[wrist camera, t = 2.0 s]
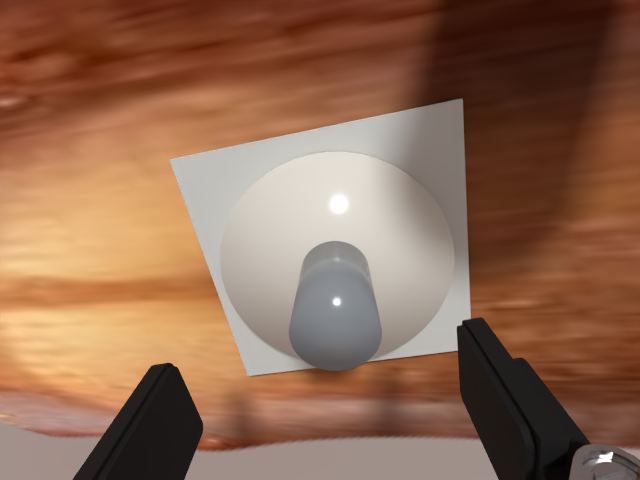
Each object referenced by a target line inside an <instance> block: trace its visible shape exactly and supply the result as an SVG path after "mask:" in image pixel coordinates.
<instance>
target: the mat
mask: <svg viewBox="0 0 640 480" xmlns="http://www.w3.org/2000/svg"><path fill="white" fill-rule="evenodd" d="M328 150H345V151H353V152H360V153H364V154H368V155H371V156H375V157H378V158H380V159H383V160H385V161H387V162H390V163H392V164H394V165H395V166H397V167H399V168H400V169H402V170H404V171H405V172H406V173H408V174H409V175H410V176H411V177H413V178H414V179H415V180H416V181H417V182H419V183H420V184H421V185H422V186H423V187H424V188H425V190H426V191H427V192H428V193H429V194H430V195H431V196H432V197H433V198H434V200H435V201H436V203H437V204H438V206H439V207H440V209H441V210H442V212H443V214H444V217H445V219H446V221H447V223H448V225H449V229H450V232H451V236H452V239H453V246H454V271H453V277H452V282H451V285H450V288H449V291H448V294H447V296H446V298H445V300H444V302H443V305H442V306H441V308H440V309H439V311H438V313H437V314H436V316H435V317H434V318H433V319H432V321H431V322H430V323H429V324H428V325H427V326H426V328H424V329H423V330H422V331H421V332H420V333H419V334H418V335H417V336H416V337H414V338H413V339H411V340H410V341H408V342H407V343H406V344H404V345H402V346H401V347H399V348H397V349H395V350H393V351H391V352H389V353H386V354H384V355H381V356H378V357H375V358H371V359H369V360H368V361H377V360H385V359H393V358H401V357H410V356H418V355H426V354H434V353H443V352H451V351H458V344H457V326H459V325H462V321H463V320H467V319H471V314H470V286H469V258H468V231H467V203H466V175H465V147H464V119H463V99H456V100H451V101H446V102H442V103H437V104H432V105H427V106H422V107H418V108H413V109H408V110H403V111H398V112H394V113H389V114H384V115H379V116H375V117H370V118H365V119H360V120H355V121H351V122H346V123H341V124H336V125H331V126H327V127H322V128H317V129H312V130H307V131H303V132H298V133H293V134H288V135H284V136H279V137H274V138H269V139H264V140H260V141H255V142H250V143H245V144H240V145H236V146H231V147H226V148H221V149H216V150H212V151H207V152H202V153H197V154H193V155H188V156H183V157H178V158H174V159H171V160H169V161H170V163H171V166H172V169H173V172H174V174H175V177H176V180H177V183H178V185H179V188H180V191H181V194H182V196H183V199H184V202H185V205H186V207H187V210H188V213H189V216H190V218H191V221H192V224H193V227H194V229H195V232H196V235H197V237H198V240H199V243H200V246H201V248H202V251H203V254H204V257H205V259H206V262H207V265H208V268H209V270H210V273H211V276H212V279H213V281H214V284H215V287H216V290H217V292H218V295H219V298H220V301H221V303H222V306H223V309H224V312H225V314H226V317H227V320H228V323H229V325H230V328H231V331H232V334H233V336H234V339H235V342H236V345H237V347H238V350H239V353H240V356H241V358H242V361H243V364H244V366H245V369H246V372H247V375H248V376H253V375H261V374H270V373H278V372H286V371H294V370H303V369H311V368H317V367H314V366H312V365H310V364H308V363H307V362H305V361H304V360H303V359H301V358H300V357H297V356H294V355H291V354H288V353H286V352H284V351H282V350H280V349H278V348H276V347H274V346H272V345H271V344H269V343H268V342H266V341H264V340H263V339H262V338H261V337H259V336H258V335H257V334H256V333H254V332H253V331H252V330H251V329H250V328H249V327H248V326H247V325H246V324H245V322H244V321H243V320H242V319H241V317H240V316H239V315H238V314H237V312H236V310H235V309H234V307H233V305H232V304H231V302H230V300H229V298H228V295H227V293H226V291H225V288H224V284H223V280H222V277H221V269H220V246H221V240H222V235H223V232H224V229H225V225H226V222H227V220H228V218H229V216H230V214H231V212H232V210H233V208H234V207H235V205H236V204H237V203H238V201H239V200H240V198H241V197H242V196H243V195H244V194H245V192H246V191H247V190H248V189H249V188H250V187H251V186H252V185H253V184H254V183H255V182H256V181H257V180H258V179H260V178H261V177H262V176H263V175H265V174H266V173H267V172H268V171H270V170H271V169H273V168H275V167H276V166H278V165H280V164H281V163H284V162H286V161H288V160H291V159H293V158H295V157H298V156H302V155H305V154H309V153H313V152H321V151H328ZM368 361H367V362H368Z"/></svg>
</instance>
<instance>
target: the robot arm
mask: <svg viewBox="0 0 640 480" xmlns="http://www.w3.org/2000/svg"><path fill="white" fill-rule="evenodd" d="M457 344H458V361H459V378H460V392H461V396H462V399H463V402H464V404H465V406H466V409H467V411H468V413H469V415H470V417H471V420H472V422H473V424H474V426H475V428H476V431H477V433H478V435H479V437H480V439H481V442H482V444H483V446H484V448H485V450H486V453H487V455H488V457H489V459H490V461H491V463H492V465H493V468H494V470H495V472H496V474H497V477H498V479H499V480H640V460H639V459H638V458H636V457H635V456H633V455H631V454H629V453H627V452H625V451H623V450H621V449H619V448H616V447H612V446H609V445H604V444H591V443H590V442H589V441H588V439H587V438H586V437H585V435H584V434H583V433H582V432H581V430H580V429H579V428H578V426H577V425H576V424H575V423H574V421H573V420H572V419H571V417H570V416H569V415H568V414H567V412H566V411H565V410H564V408H563V407H562V406H561V405H560V403H559V402H558V401H557V399H556V398H555V397H554V396H553V394H552V393H551V392H550V390H549V389H548V388H547V387H546V385H545V384H544V383H543V381H542V380H541V379H540V378H539V376H538V375H537V374H536V372H535V371H534V370H533V369H532V367H531V366H530V365H529V364H528V362H527V361H526V360H525V359H523V358H516V359H512V357H511V356H510V354H509V353H508V352H507V350H506V349H505V348H504V346H503V345H502V344H501V342H500V341H499V339H498V338H497V337H496V335H495V334H494V333H493V331H492V330H491V328H490V327H489V326H488V324H487V323H486V322H485V320H484V319H483V318H474V319H467V320H463V321H462V325H459V326H457ZM202 432H203V422H202V420H201V418H200V415H199V413H198V411H197V409H196V407H195V404H194V402H193V400H192V398H191V396H190V393H189V391H188V389H187V387H186V385H185V382H184V380H183V378H182V376H181V374H180V371H179V369H178V368H177V367H174V366H173V364H171V363H164V364H158V365H153V366H151V367H150V368H149V370H148V371H147V373H146V374H145V376H144V377H143V379H142V380H141V381H140V383H139V384H138V386H137V387H136V389H135V390H134V392H133V393H132V394H131V396H130V397H129V399H128V400H127V402H126V403H125V405H124V406H123V407H122V409H121V410H120V412H119V413H118V415H117V416H116V418H115V419H114V420H113V422H112V423H111V425H110V426H109V428H108V429H107V431H106V432H105V433H104V435H103V436H102V438H101V439H100V441H99V442H98V444H97V445H96V446H95V448H94V450H93V451H92V452H91V454H90V455H89V457H88V458H87V459H86V461H85V462H84V464H83V465H82V467H81V468H80V470H79V471H78V472H77V474H76V475H75V477H74V478H73V480H184V479H185V476H186V473H187V471H188V469H189V466H190V463H191V461H192V458H193V456H194V453H195V451H196V448H197V446H198V443H199V441H200V438H201V435H202Z"/></svg>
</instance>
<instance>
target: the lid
mask: <svg viewBox="0 0 640 480" xmlns="http://www.w3.org/2000/svg"><path fill="white" fill-rule="evenodd" d="M220 269H221V277H222V280H223V284H224V288H225V291H226V293H227V295H228V298H229V300H230V302H231V304H232V305H233V307H234V309H235V310H236V312H237V314H238V315H239V316H240V317H241V319H242V320H243V321H244V322H245V324H246V325H247V326H248V327H249V328H250V329H251V330H252V331H253V332H254V333H256V334H257V335H258V336H259V337H261V338H262V339H263V340H264V341H266V342H268V343H269V344H271V345H272V346H274V347H276V348H278V349H280V350H282V351H284V352H286V353H288V354H291V355H294V356H297V357H300V358H301V359H303V360H304V361H305V362H307V363H308V364H310V365H312V366H314V367H317V368H319V369H323V370H329V371H344V370H349V369H353V368H356V367H358V366H360V365H362V364H364V363H365V362H367V361H368V360H369V359H371V358H375V357H378V356H381V355H384V354H386V353H389V352H391V351H393V350H395V349H397V348H399V347H401V346H402V345H404V344H406V343H407V342H408V341H410V340H411V339H413V338H414V337H416V336H417V335H418V334H419V333H420V332H421V331H422V330H423V329H424V328H426V326H427V325H428V324H429V323H430V322H431V321H432V319H433V318H434V317H435V316H436V314H437V313H438V311H439V309H440V308H441V306H442V305H443V302H444V300H445V298H446V296H447V294H448V291H449V288H450V285H451V282H452V277H453V271H454V246H453V239H452V236H451V232H450V229H449V225H448V223H447V221H446V219H445V217H444V214H443V212H442V210H441V209H440V207H439V206H438V204H437V203H436V201H435V200H434V198H433V197H432V196H431V195H430V194H429V193H428V192H427V191H426V190H425V188H424V187H423V186H422V185H421V184H420V183H419V182H417V181H416V180H415V179H414V178H413V177H411V176H410V175H409V174H408V173H406V172H405V171H404V170H402V169H400V168H399V167H397V166H395V165H394V164H392V163H390V162H387V161H385V160H383V159H380V158H378V157H375V156H371V155H368V154H364V153H360V152H353V151H345V150H328V151H321V152H313V153H309V154H305V155H302V156H298V157H295V158H293V159H291V160H288V161H286V162H284V163H281V164H280V165H278V166H276V167H275V168H273V169H271V170H270V171H268V172H267V173H266V174H265V175H263V176H262V177H261V178H260V179H258V180H257V181H256V182H255V183H254V184H253V185H252V186H251V187H250V188H249V189H248V190H247V191H246V192H245V194H244V195H243V196H242V197H241V198H240V200H239V201H238V203H237V204H236V205H235V207H234V208H233V210H232V212H231V214H230V216H229V218H228V220H227V222H226V225H225V229H224V232H223V235H222V240H221V246H220Z"/></svg>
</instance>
